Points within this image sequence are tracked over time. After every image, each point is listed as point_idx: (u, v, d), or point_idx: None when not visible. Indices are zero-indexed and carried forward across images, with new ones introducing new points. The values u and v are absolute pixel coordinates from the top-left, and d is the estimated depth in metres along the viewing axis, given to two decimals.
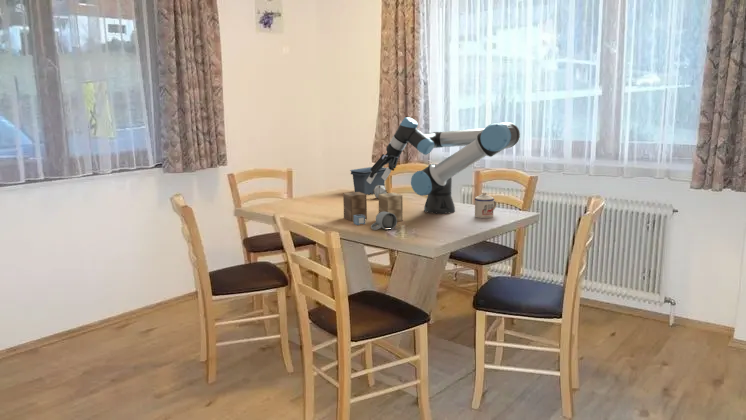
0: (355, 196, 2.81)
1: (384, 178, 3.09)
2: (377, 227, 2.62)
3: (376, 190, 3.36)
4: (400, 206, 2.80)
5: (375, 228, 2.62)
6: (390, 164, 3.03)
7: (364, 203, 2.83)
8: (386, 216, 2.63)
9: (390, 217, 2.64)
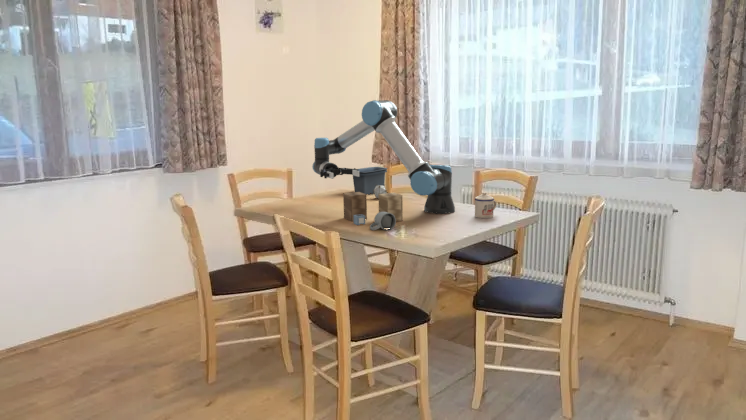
0: (355, 196, 2.81)
1: (357, 172, 2.95)
2: (376, 227, 2.62)
3: (376, 190, 3.36)
4: (400, 206, 2.80)
5: (374, 228, 2.62)
6: (346, 171, 3.03)
7: (364, 203, 2.83)
8: (385, 216, 2.63)
9: (389, 217, 2.64)
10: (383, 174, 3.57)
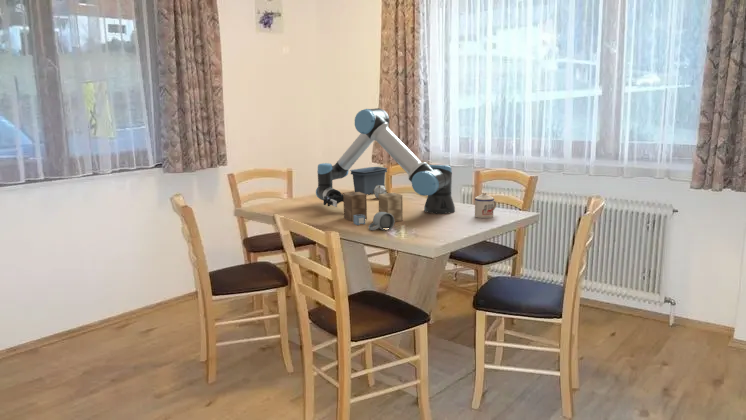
0: (355, 196, 2.81)
1: None
2: (374, 227, 2.61)
3: (376, 190, 3.36)
4: (400, 206, 2.80)
5: (372, 228, 2.62)
6: None
7: (364, 203, 2.83)
8: (383, 216, 2.62)
9: (388, 217, 2.63)
10: (383, 174, 3.57)
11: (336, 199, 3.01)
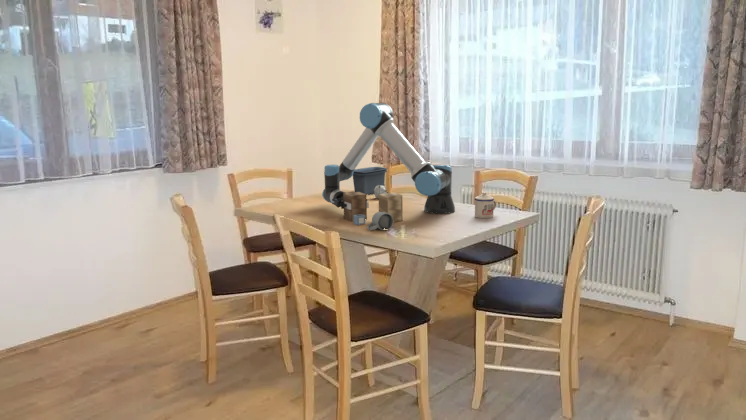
0: (355, 196, 2.81)
1: None
2: (373, 227, 2.61)
3: (376, 190, 3.36)
4: (400, 206, 2.80)
5: (371, 228, 2.61)
6: None
7: (364, 203, 2.83)
8: (382, 216, 2.62)
9: (386, 217, 2.63)
10: (383, 174, 3.57)
11: None
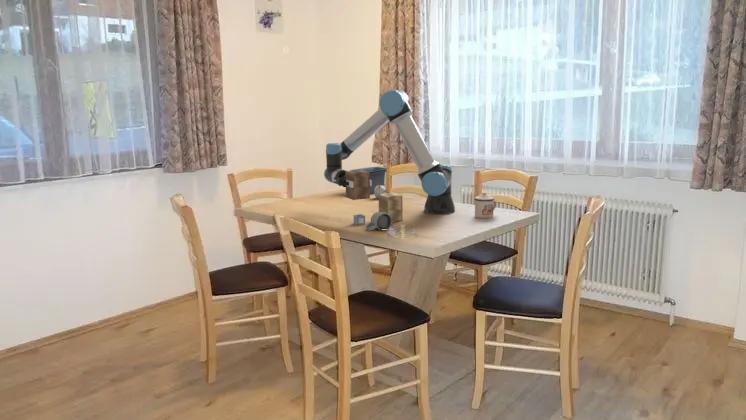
0: (357, 174, 2.68)
1: None
2: (372, 228, 2.61)
3: (376, 190, 3.36)
4: (400, 206, 2.80)
5: (370, 229, 2.61)
6: None
7: (367, 181, 2.71)
8: (381, 217, 2.62)
9: (385, 218, 2.63)
10: (383, 174, 3.57)
11: None
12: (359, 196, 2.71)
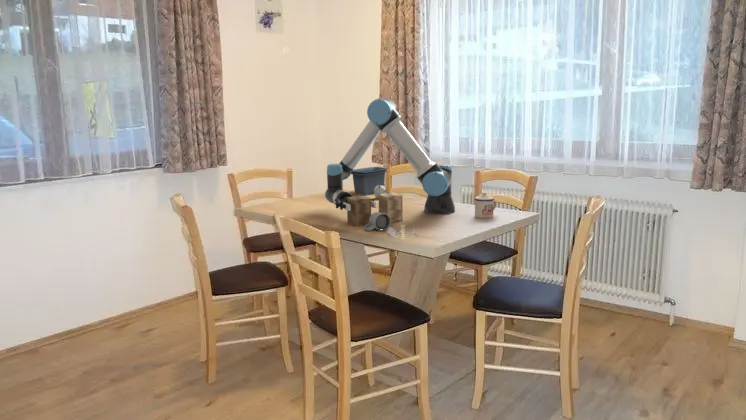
0: (359, 200, 2.70)
1: (373, 203, 2.75)
2: (370, 228, 2.61)
3: (376, 190, 3.36)
4: (400, 206, 2.80)
5: (368, 229, 2.61)
6: None
7: (368, 208, 2.73)
8: (380, 217, 2.62)
9: (384, 218, 2.63)
10: (383, 174, 3.57)
11: None
12: (361, 222, 2.72)
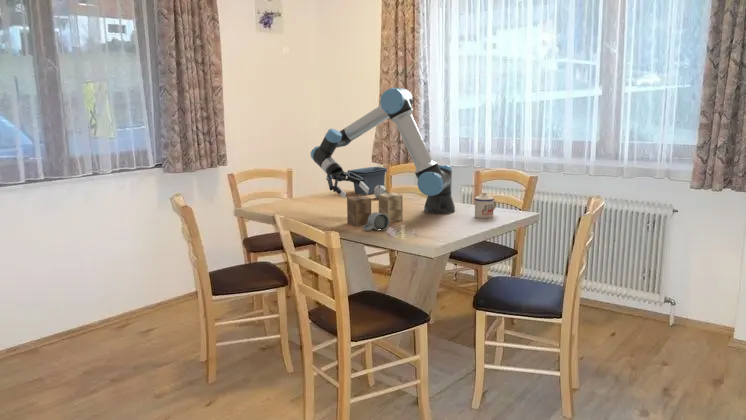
0: (359, 200, 2.70)
1: (366, 189, 2.91)
2: (369, 228, 2.60)
3: (376, 190, 3.36)
4: (400, 206, 2.80)
5: (367, 229, 2.61)
6: (353, 180, 2.96)
7: (368, 208, 2.73)
8: (378, 217, 2.61)
9: (382, 218, 2.62)
10: (383, 174, 3.57)
11: (339, 180, 2.93)
12: (361, 222, 2.72)
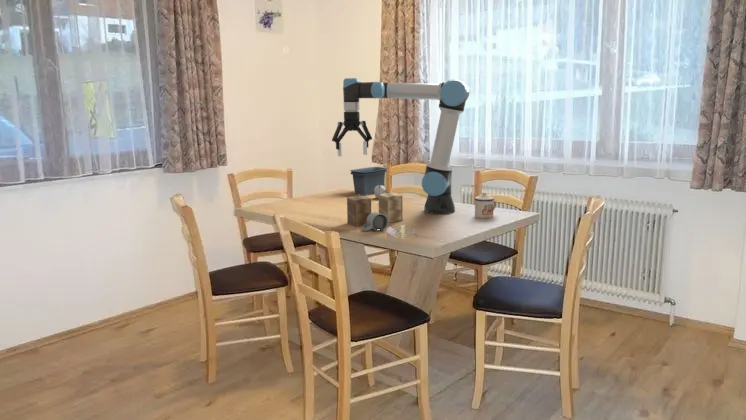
0: (359, 200, 2.70)
1: (364, 153, 2.96)
2: (368, 228, 2.60)
3: (376, 190, 3.36)
4: (400, 206, 2.80)
5: (366, 229, 2.61)
6: (361, 134, 2.94)
7: (368, 208, 2.73)
8: (377, 217, 2.61)
9: (381, 218, 2.62)
10: (383, 174, 3.57)
11: (348, 130, 2.91)
12: (361, 222, 2.72)
